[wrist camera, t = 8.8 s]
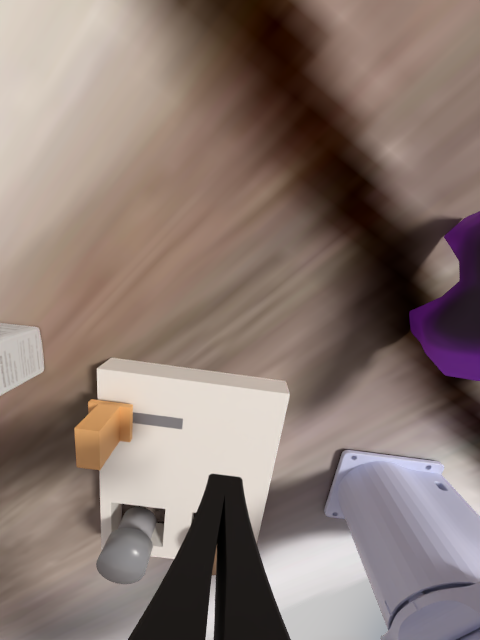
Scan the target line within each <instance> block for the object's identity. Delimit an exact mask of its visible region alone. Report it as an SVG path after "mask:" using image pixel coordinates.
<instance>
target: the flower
mask: <svg viewBox="0 0 480 640" xmlns="http://www.w3.org/2000/svg"><path fill="white" fill-rule="evenodd" d="M444 238H445V239H446V241H447V242H448V244H449V245H450V247H451V248H452V250H453V252H454V253H455V255H456V257H457V258H458V260H459V268H460V281H459V282H458V283H457V284H456V285H455V286H453V287H452V288H451V289H450V290H449V291H448V292H447V293H446V294H444V295H443V296H442V297H440V298H438V299H436V300H434V301H431V302H429V303H427V304H425V305H423V306H420V307H418V308H416V309H413V310H411V311H410V312H409V318H410V327H411V332H412V333H413V334H414V336H415V337H416V338H417V339H418V340H419V341H420V342H421V344H422V347H423V349H424V351H425V353H426V354H427V355H428V357H429V358H430V359H431V360H432V361H433V362H434V363H435V365H436V366H437V367H438V368H439V369H440V370H441V371H442V373H443V374H444V375H446V376H452V377H458V378H464V379H470V380H475V381H480V212H477V213H475V214H473V215H470V216H468V217H466V218H464V219H463V220H462V221H461V222H459V223H458V224H457V225H456V226H455V227H454V228H452V229H451V230H450V231H449V232H448V233H447V234H446V235H445V236H444Z"/></svg>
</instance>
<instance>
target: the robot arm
mask: <svg viewBox="0 0 480 640" xmlns="http://www.w3.org/2000/svg"><path fill="white" fill-rule="evenodd" d="M352 456H353V457H352ZM443 470H444V466H443V465H442V464H441V463H440V462H438V461H431V460H423V459H415V458H408V457H400V456H392V455H384V454H376V453H369V452H361V451H353V450H345V451H343V452H342V454H341V458H340V461H339V464H338V467H337V470H336V474H335V477H334V480H333V483H332V486H331V489H330V493H329V496H328V499H327V502H326V505H325V509H324V512H325V515H326V516H327V517H333V518H341V519H345V520H346V522H347V525H348V527H349V530H350V532H351V535H352V538H353V540H354V543H355V545H356V548H357V551H358V553H359V556H360V558H361V561H362V563H363V566H364V569H365V571H366V574H367V576H368V579H369V582H370V584H371V587H372V589H373V592H374V594H375V597H376V600H377V602H378V605H379V607H380V610H381V613H382V615H383V618H384V620H385V623H386V625H387V628H388V632H387V633H386V634H385V635H383V636H381V640H480V516H479V515H478V514H477V513H476V512H475V511H474V510H473V509H472V507H471V506H470V505H469V504H468V503H467V502H466V501H465V500H464V499H463V498H462V496H461V495H460V494H459V493H458V492H457V491H456V490H455V489H454V488H453V487H452V485H451V484H450V483H449V482H448V481H447V480H446V479H445V478H444V477H443V476H442V475H441V474H442V472H443ZM216 547H217V561H216V593H215V625H214V640H291V639H290V637H289V634H288V632H287V629H286V627H285V624H284V622H283V619H282V617H281V614H280V612H279V609H278V606H277V604H276V601H275V598H274V596H273V593H272V590H271V587H270V584H269V582H268V579H267V576H266V573H265V570H264V567H263V563H262V560H261V557H260V554H259V551H258V547H257V544H256V541H255V537H254V533H253V530H252V526H251V522H250V518H249V514H248V510H247V505H246V500H245V495H244V489H243V481H242V479H241V477H236V476H228V475H220V474H210V475H209V477H208V481H207V485H206V488H205V491H204V494H203V497H202V500H201V502H200V505H199V507H198V510H197V512H196V514H195V517H194V519H193V521H192V524H191V526H190V528H189V530H188V532H187V535H186V537H185V539H184V541H183V543H182V545H181V547H180V549H179V551H178V553H177V555H176V557H175V559H174V561H173V563H172V564H171V566H170V568H169V570H168V572H167V574H166V576H165V577H164V579H163V581H162V583H161V585H160V586H159V588H158V590H157V592H156V593H155V595H154V597H153V599H152V600H151V602H150V604H149V605H148V607H147V609H146V610H145V612H144V614H143V615H142V617H141V619H140V620H139V622H138V624H137V625H136V627H135V629H134V630H133V632H132V633H131V635H130V637H129V638H128V640H205V637H206V626H207V616H208V605H209V595H210V585H211V576H212V570H213V564H214V558H215V553H216Z"/></svg>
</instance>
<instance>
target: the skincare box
mask: <svg viewBox="0 0 480 640" xmlns="http://www.w3.org/2000/svg"><path fill="white" fill-rule="evenodd" d="M43 370H44V358H43V349H42V341H41V335H40V330H39V328H38V327H34V326H24V325H14V324H5V323H0V396H1V395H2V394H4V393H6V392H8V391H10V390H12V389H13V388H15V387H17V386H19V385H21V384H22V383H24V382H26V381H28V380H29V379H31V378H33V377H35V376H37V375H39V374H40V373H42V372H43Z"/></svg>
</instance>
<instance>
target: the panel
mask: <svg viewBox="0 0 480 640" xmlns="http://www.w3.org/2000/svg"><path fill="white" fill-rule="evenodd" d="M97 396H98V400H102V401H109V402H117V403H125V404H132V405H133V429H132V440H131V441H130V442H123V441H120V442H119V443H118V445H117V446H116V448H115V449H114V451H113V452H112V453H111V455H110V456H109V458H108V459H107V461H106V462H105V464H104V465H103V467H102V468H101V470H99V473H100V512H101V550H102V549H103V547H104V545H105V543H106V541H107V539H108V537H109V535H110V534H111V533H112V532H113V531H115V530H117V529H118V526H119V524H120V522H121V520H122V504H129V505H137V506H145V507H153V508H161V509H165V521H164V524H163V523H156V525H155V528H154V531H153V534H152V537H151V541H152V544H153V548H152V552H151V555H150V556H153V557H162V558H170V559H175V557H176V555H177V553H178V551H179V549H180V547H181V545H182V543H183V541H184V539H185V537H186V535H187V532H188V530H189V528H190V526H191V524H192V521H193V518H194V513H196V512H197V510H198V507H199V505H200V502H201V500H202V497H203V494H204V491H205V488H206V485H207V481H208V477H209V475H210V474H220V475H228V476H236V477H241V479H242V481H243V489H244V495H245V500H246V505H247V510H248V514H249V518H250V522H251V526H252V530H253V533H254V537H255V541H256V544H257V540H258V536H259V531H260V527H261V522H262V518H263V513H264V509H265V504H266V500H267V495H268V491H269V486H270V482H271V477H272V473H273V468H274V464H275V459H276V455H277V450H278V446H279V441H280V437H281V432H282V428H283V423H284V419H285V415H286V410H287V406H288V401H289V397H290V393H289V390H288V387H287V384H286V381H282V380H275V379H268V378H260V377H253V376H245V375H238V374H230V373H223V372H215V371H208V370H200V369H193V368H186V367H178V366H171V365H163V364H156V363H148V362H141V361H133V360H126V359H119V358H110V359H109V360H107V361H106V362H105V363H103V364H102V365H101V366H99V367H98V368H97Z"/></svg>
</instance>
